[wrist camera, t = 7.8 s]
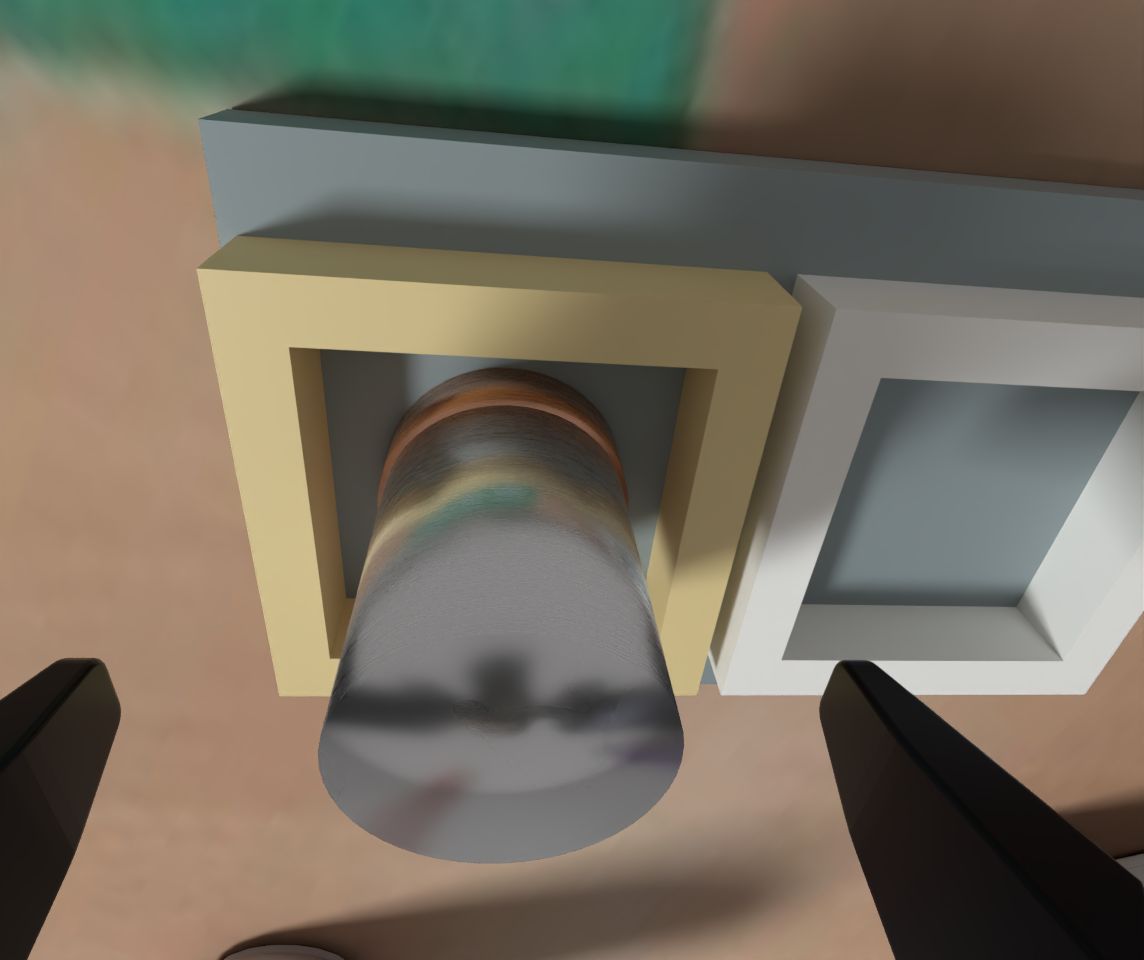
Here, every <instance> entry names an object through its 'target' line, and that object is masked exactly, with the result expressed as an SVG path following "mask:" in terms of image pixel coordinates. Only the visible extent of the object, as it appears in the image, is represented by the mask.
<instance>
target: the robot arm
mask: <svg viewBox="0 0 1144 960" xmlns="http://www.w3.org/2000/svg"><path fill="white" fill-rule="evenodd" d="M819 713H820V720H821V724H822V728H823V732H824V736H825V740H826V744H827V748H828V752H829V756H830V760H831V764H832V768H833V772H834V776H835V780H836V784H837V788H838V792H839V795H840V799H841V803H842V807H843V811H844V815H845V819H846V822H847V826H848V829H849V833H850V836H851V839H852V842H853V844H854V847H855V850H856V853H857V856H858V859H859V861H860V864H861V867H862V870H863V872H864V875H865V878H866V881H867V883H868V886H869V889H870V891H871V894H872V897H873V900H874V902H875V905H876V908H877V911H878V913H879V916H880V919H881V922H882V924H883V927H884V930H885V933H886V935H887V938H888V941H889V943H890V946H891V949H892V952H893V954H894V957H895V960H1144V887H1143V884H1142V882H1141V881H1140V880H1139V879H1138V878H1137V877H1135V876H1134V875H1133V874H1132V873H1131V872H1129V871H1128V870H1127V869H1126V868H1124V867H1123V866H1122V865H1121V864H1120V863H1118V862H1117V861H1116V860H1115V859H1113V858H1112V857H1111V856H1110V855H1109V854H1107V853H1106V852H1105V851H1104V850H1102V849H1101V848H1100V847H1099V846H1098V845H1096V844H1095V843H1094V842H1093V841H1091V840H1090V839H1089V838H1088V837H1086V836H1085V835H1084V834H1083V833H1082V832H1080V831H1079V830H1078V829H1077V828H1075V827H1074V826H1073V825H1072V824H1071V823H1069V822H1068V821H1067V820H1066V819H1064V818H1063V817H1062V816H1061V815H1060V814H1058V813H1057V812H1056V811H1055V810H1053V809H1052V808H1051V807H1050V806H1049V805H1047V804H1046V803H1045V802H1044V801H1042V800H1041V799H1040V798H1039V797H1038V796H1036V795H1035V794H1034V793H1033V792H1031V791H1030V790H1029V789H1028V788H1027V787H1025V786H1024V785H1023V784H1022V783H1020V782H1019V781H1018V780H1017V779H1016V778H1014V777H1013V776H1012V775H1011V774H1009V773H1008V772H1007V771H1006V770H1005V769H1003V768H1002V767H1001V766H1000V765H998V764H997V763H996V762H995V761H994V760H992V759H991V758H990V757H989V756H987V755H986V754H985V753H984V752H982V751H981V750H980V749H979V748H978V747H976V746H975V745H974V744H973V743H971V742H970V741H969V740H968V739H967V738H965V737H964V736H963V735H962V734H960V733H959V732H958V731H957V730H956V729H954V728H953V727H952V726H951V725H949V724H948V723H947V722H946V721H945V720H943V719H942V718H941V717H940V716H938V715H937V714H936V713H935V712H934V711H932V710H931V709H930V708H929V707H927V706H926V705H925V704H924V703H923V702H921V701H920V700H919V699H918V698H916V697H915V696H914V695H913V694H912V693H910V692H909V691H908V690H907V689H905V688H904V687H903V686H902V685H901V684H899V683H898V682H897V681H896V680H894V679H893V678H892V677H891V676H889V675H888V674H887V673H886V672H885V671H883V670H882V669H881V668H880V667H878V666H877V665H876V664H874V663H873V662H871V661H868V660H842V661H839V662H838V663H837V664H836V665H835V667H834V669H833V672H832V674H831V676H830V679H829V681H828V684H827V686H826V689H825V691H824V693H823V696H822V698H821V701H820V707H819ZM120 717H121V708H120V702H119V700H118V697H117V694H116V692H115V689H114V686H113V684H112V681H111V678H110V676H109V673H108V670H107V668H106V666H105V664H104V663H103V662H102V661H101V660H100V659H96V658H64V659H60V660H58V661H56V662H54V663H53V664H51V665H50V666H48V667H47V668H45V669H44V670H43V671H41V672H40V673H38V674H37V675H35V676H34V677H32V678H31V679H30V680H28V681H27V682H25V683H24V684H22V685H21V686H20V687H18V688H17V689H15V690H14V691H12V692H11V693H10V694H8V695H7V696H5V697H4V698H2V699H1V700H0V960H27V959H28V957H29V955H30V952H31V950H32V948H33V946H34V944H35V941H36V939H37V937H38V935H39V933H40V930H41V928H42V926H43V924H44V922H45V920H46V917H47V915H48V913H49V911H50V909H51V906H52V904H53V902H54V900H55V898H56V896H57V893H58V891H59V889H60V887H61V885H62V882H63V880H64V878H65V876H66V874H67V871H68V869H69V867H70V864H71V862H72V860H73V857H74V855H75V852H76V850H77V847H78V844H79V842H80V839H81V836H82V833H83V831H84V828H85V825H86V822H87V819H88V816H89V813H90V810H91V807H92V804H93V801H94V798H95V795H96V792H97V789H98V786H99V783H100V780H101V777H102V774H103V771H104V768H105V765H106V762H107V759H108V756H109V753H110V750H111V747H112V744H113V741H114V738H115V735H116V732H117V729H118V726H119V722H120Z"/></svg>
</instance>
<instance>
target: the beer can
mask: <svg viewBox="0 0 1144 960" xmlns="http://www.w3.org/2000/svg"><path fill="white" fill-rule="evenodd" d="M224 960H345V959H343V958H342V957H340V956H338V955H337V954H334V953H331V952H328V951H325V950H322V949H319V948H313V947H306V946H299V945H268V946H261V947H255V948H249V949H246V950H243V951H240V952H237V953H234V954H232V955H229V956H228V957H227V958H225V959H224Z"/></svg>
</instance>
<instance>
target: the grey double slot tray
mask: <svg viewBox="0 0 1144 960" xmlns="http://www.w3.org/2000/svg"><path fill="white" fill-rule="evenodd" d="M198 120H199V126H200V132H201V138H202V143H203V149H204V155H205V161H206V166H207V172H208V178H209V184H210V190H211V195H212V201H213V207H214V213H215V218H216V224H217V230H218V236H219V242H220V247H221V249H220V250H218V251H217V252H216V253H215V254H214V255H212V256H211V257H210V258H209V259H208V260H206V261H205V262H204V263H203V264H201V265H200V266H199V267H198V268H197V273H198V278H199V283H200V288H201V294H202V299H203V304H204V309H205V314H206V319H207V325H208V330H209V335H210V340H211V345H212V350H213V356H214V361H215V366H216V371H217V376H218V381H219V387H220V392H221V397H222V402H223V407H224V412H225V418H226V423H227V428H228V433H229V438H230V443H231V448H232V454H233V459H234V464H235V469H236V474H237V479H238V485H239V490H240V495H241V500H242V505H243V510H244V516H245V521H246V526H247V531H248V536H249V541H250V547H251V552H252V557H253V562H254V567H255V572H256V578H257V583H258V588H259V593H260V598H261V603H262V608H263V614H264V619H265V624H266V629H267V634H268V639H269V645H270V650H271V655H272V660H273V665H274V670H275V676H276V681H277V686H278V691H279V696H331V693H332V689H333V685H334V681H335V677H336V673H337V670H338V666H339V662H340V658H341V654H342V650H343V646H344V642H345V638H346V634H347V630H348V626H349V622H350V619H351V615H352V611H353V607H354V603H355V599H356V595H357V591H358V587H359V583H360V579H361V575H362V571H363V568H364V564H365V560H366V556H367V552H368V548H369V544H370V540H371V536H372V532H373V528H374V524H375V520H376V517H377V513H378V509H377V505H378V490H379V485H380V480H381V476H382V472H383V469H384V465H385V461H386V457H387V454H388V450H389V446H390V443H391V440H392V437H393V434H394V431H395V429H396V428H397V426H398V424H399V422H400V420H401V419H402V417H403V416H404V414H405V413H406V412H407V410H408V409H409V408H410V407H411V406H412V405H413V404H414V403H415V402H416V401H417V400H418V399H419V398H420V397H421V396H422V395H424V394H425V393H426V392H428V391H429V390H430V389H432V388H433V387H435V386H437V385H439V384H440V383H442V382H444V381H446V380H448V379H451V378H453V377H456V376H458V375H461V374H464V373H468V372H472V371H476V370H483V369H490V368H515V369H524V370H529V371H534V372H538V373H542V374H545V375H547V376H550V377H553V378H556V379H558V380H560V381H562V382H564V383H566V384H567V385H569V386H571V387H573V388H574V389H575V390H577V391H578V392H580V393H581V394H583V395H584V396H585V397H586V398H587V399H588V400H589V401H590V402H591V403H592V404H594V406H595V407H596V408H597V409H598V410H599V412H600V413H601V414H602V415H603V417H604V419H605V420H606V422H607V424H608V425H609V427H610V429H611V432H612V434H613V436H614V439H615V442H616V446H617V450H618V454H619V457H620V461H621V465H622V469H623V473H624V477H625V481H626V485H627V489H628V501H629V503H628V513H629V517H630V521H631V525H632V529H633V533H634V537H635V541H636V545H637V549H638V553H639V557H640V561H641V565H642V569H643V573H644V577H645V581H646V585H647V589H648V593H649V597H650V601H651V605H652V609H653V613H654V617H655V621H656V625H657V629H658V633H659V637H660V641H661V645H662V649H663V653H664V657H665V661H666V665H667V669H668V673H669V677H670V681H671V685H672V689H673V693H674V695H697V692H698V689H699V685H700V684H718V687H719V691H720V694H721V695H823V693H824V691H825V689H826V686H827V684H828V681H829V679H830V676H831V674H832V672H833V669H834V667H835V665H836V664H837V663H838V662H839V661H842V660H868V661H871V662H873V663H874V664H876V665H877V666H878V667H880V668H881V669H882V670H883V671H885V672H886V673H887V674H888V675H889V676H891V677H892V678H893V679H894V680H896V681H897V682H898V683H899V684H901V685H902V686H903V687H904V688H905V689H907V690H908V691H909V692H910V693H912V694H913V695H1050V694H1085V693H1086V692H1087V690H1088V689H1089V688H1090V686H1091V685H1092V683H1093V682H1094V680H1095V679H1096V678H1097V676H1098V675H1099V673H1100V672H1101V671H1102V669H1103V668H1104V666H1105V665H1106V663H1107V662H1108V661H1109V659H1110V658H1111V656H1112V655H1113V654H1114V652H1115V651H1116V649H1117V648H1118V646H1119V645H1120V644H1121V642H1122V641H1123V639H1124V638H1125V636H1126V635H1127V634H1128V632H1129V631H1130V629H1131V628H1132V627H1133V625H1134V624H1135V622H1136V621H1137V619H1138V618H1139V617H1140V615H1141V614H1142V612H1143V611H1144V190H1141V189H1129V188H1118V187H1107V186H1095V185H1084V184H1073V183H1061V182H1050V181H1039V180H1027V179H1016V178H1004V177H993V176H982V175H970V174H959V173H948V172H936V171H925V170H914V169H902V168H891V167H880V166H868V165H857V164H845V163H834V162H823V161H811V160H800V159H789V158H777V157H766V156H755V155H743V154H732V153H720V152H709V151H698V150H686V149H675V148H664V147H652V146H641V145H630V144H618V143H607V142H595V141H584V140H573V139H561V138H550V137H539V136H527V135H516V134H505V133H493V132H482V131H470V130H459V129H448V128H436V127H425V126H414V125H402V124H391V123H380V122H368V121H357V120H345V119H334V118H323V117H311V116H300V115H289V114H277V113H266V112H255V111H243V110H232V109H226V110H223V111H221V112H218V113H215V114H212V115H209V116H206V117H203V118H200V119H198Z"/></svg>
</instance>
